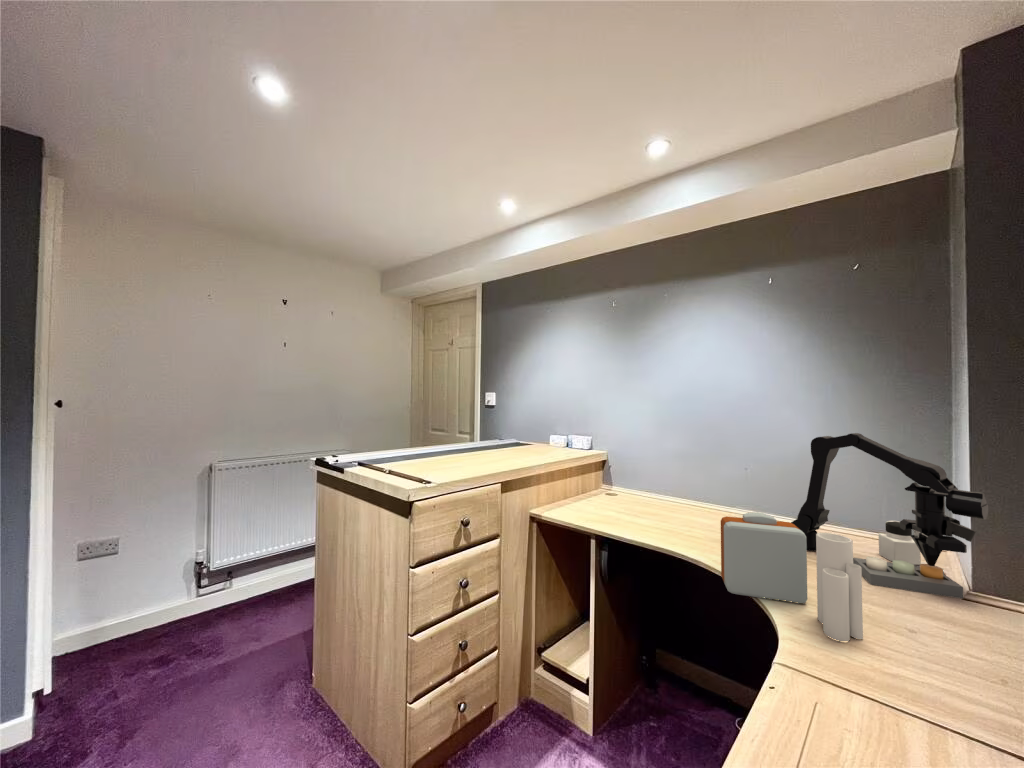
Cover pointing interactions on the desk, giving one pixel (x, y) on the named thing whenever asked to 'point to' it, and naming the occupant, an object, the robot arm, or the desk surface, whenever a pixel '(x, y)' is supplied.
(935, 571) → the button orange
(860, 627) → the vase
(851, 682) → the desk surface
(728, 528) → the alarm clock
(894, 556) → the medicine bottle
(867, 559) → the button ivory
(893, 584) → the grey compartment tray
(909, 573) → the button sage
